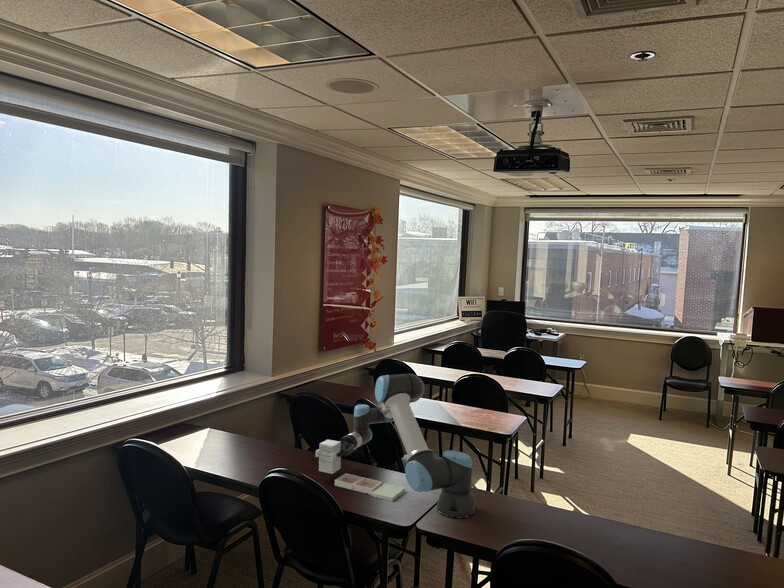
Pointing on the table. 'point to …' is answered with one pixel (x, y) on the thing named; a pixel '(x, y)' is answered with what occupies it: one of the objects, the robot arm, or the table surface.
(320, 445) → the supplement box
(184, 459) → the table surface
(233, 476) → the table surface
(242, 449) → the table surface
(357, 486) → the track
